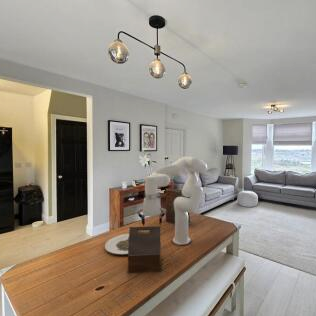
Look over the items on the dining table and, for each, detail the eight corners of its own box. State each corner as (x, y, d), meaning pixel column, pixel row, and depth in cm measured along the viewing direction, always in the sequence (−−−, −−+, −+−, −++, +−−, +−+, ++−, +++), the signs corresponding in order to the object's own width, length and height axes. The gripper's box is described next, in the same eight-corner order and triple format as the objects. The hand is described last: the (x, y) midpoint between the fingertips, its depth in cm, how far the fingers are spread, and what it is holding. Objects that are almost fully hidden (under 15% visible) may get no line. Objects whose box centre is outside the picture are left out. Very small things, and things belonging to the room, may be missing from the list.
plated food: (100, 259, 114) (100, 253, 114) (109, 237, 143) (109, 232, 143) (152, 253, 121) (152, 248, 121) (150, 234, 150) (150, 229, 150)
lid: (129, 227, 106) (128, 227, 101) (160, 226, 108) (160, 226, 103) (128, 254, 103) (126, 257, 98) (160, 253, 104) (159, 255, 99)
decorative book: (189, 224, 171) (190, 190, 170) (185, 227, 165) (185, 191, 164) (169, 219, 184) (169, 187, 183) (164, 221, 178) (164, 188, 177)
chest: (132, 258, 116) (132, 244, 115) (160, 257, 117) (161, 243, 117) (128, 272, 103) (128, 255, 102) (159, 270, 104) (160, 254, 104)
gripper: (166, 194, 120) (166, 221, 121) (137, 195, 118) (138, 222, 119) (166, 197, 113) (166, 226, 114) (135, 198, 111) (136, 227, 112)
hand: (152, 224), depth 117 cm, fingers open, 9 cm apart
